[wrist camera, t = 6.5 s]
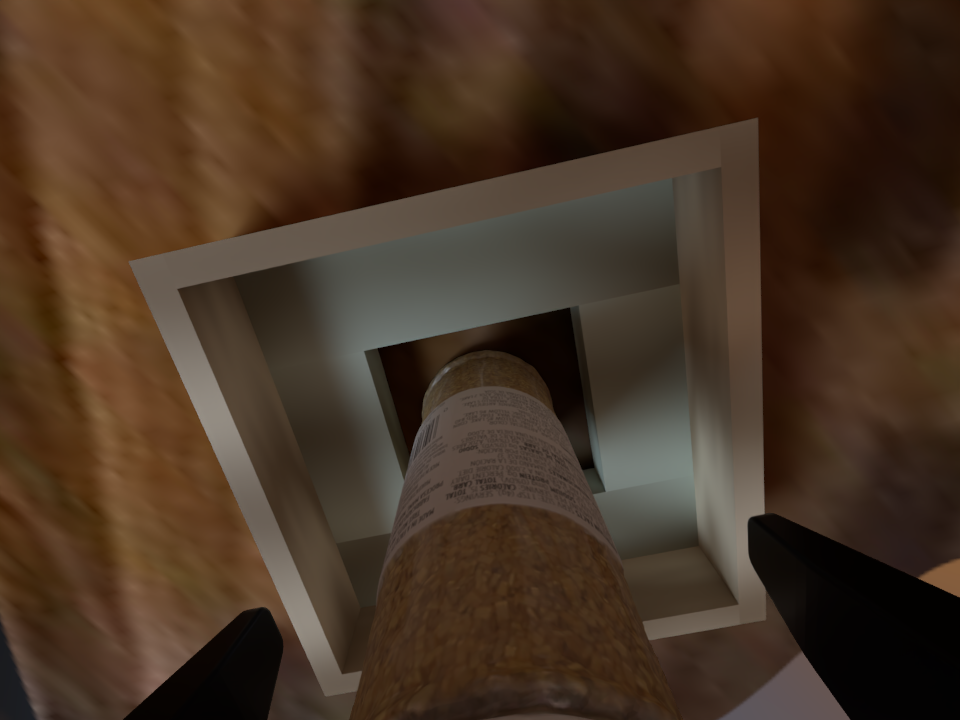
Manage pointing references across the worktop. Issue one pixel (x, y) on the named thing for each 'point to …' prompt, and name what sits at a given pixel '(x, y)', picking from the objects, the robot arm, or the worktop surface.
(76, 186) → the worktop surface
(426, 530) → the sprinkles bottle
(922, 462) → the worktop surface
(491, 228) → the peg box
